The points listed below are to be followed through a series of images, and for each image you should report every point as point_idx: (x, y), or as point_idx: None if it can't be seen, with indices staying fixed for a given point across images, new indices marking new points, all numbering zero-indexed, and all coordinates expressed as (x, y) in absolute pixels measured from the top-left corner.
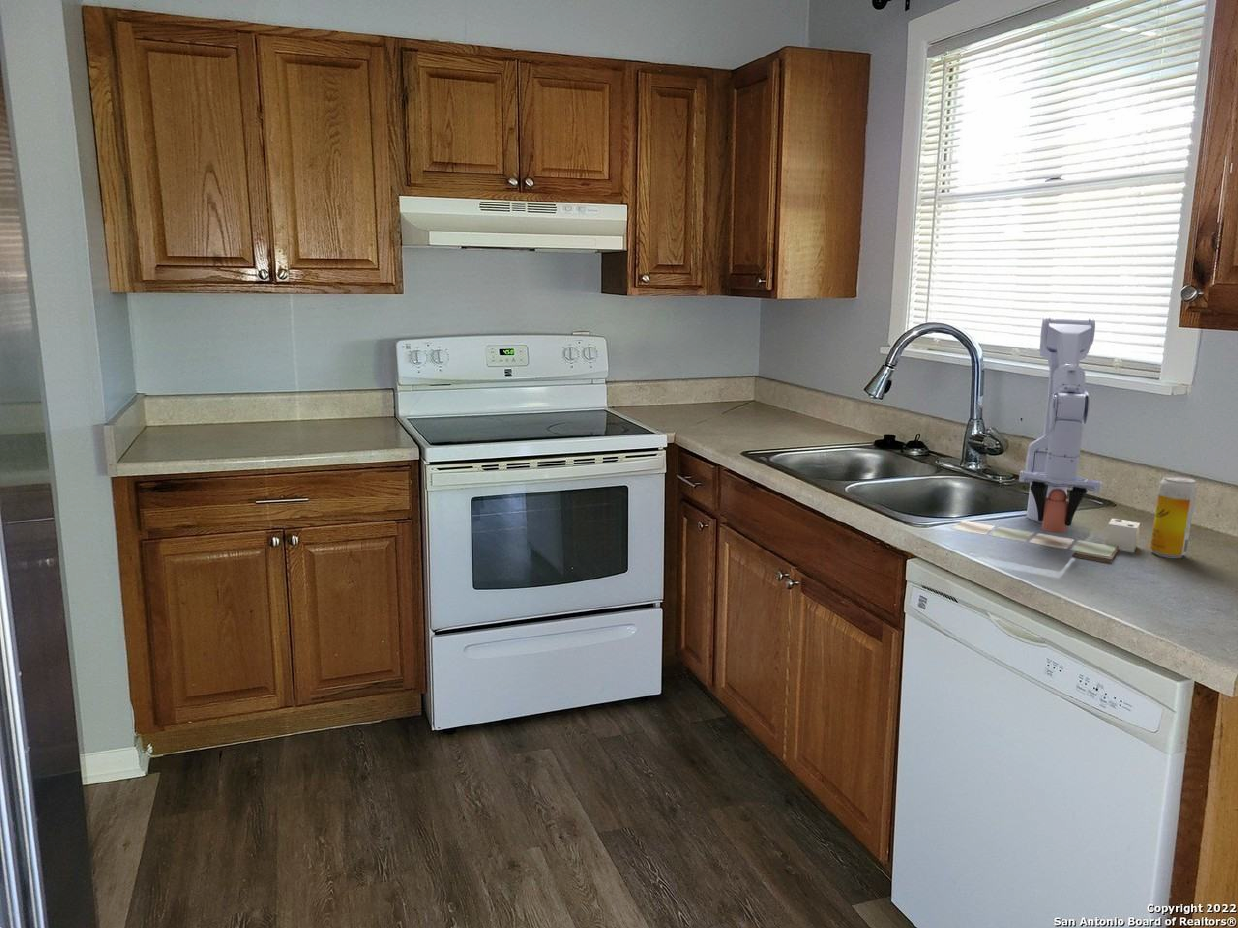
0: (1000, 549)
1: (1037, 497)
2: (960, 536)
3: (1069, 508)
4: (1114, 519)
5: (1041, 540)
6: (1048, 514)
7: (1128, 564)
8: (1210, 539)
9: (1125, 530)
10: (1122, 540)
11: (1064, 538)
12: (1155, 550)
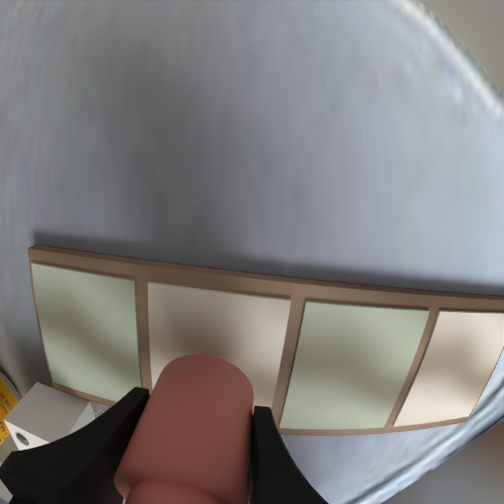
0: (385, 199)
1: (293, 492)
2: (490, 292)
3: (104, 434)
4: None
5: (248, 354)
6: (218, 414)
7: (9, 263)
8: None
9: (28, 422)
10: (45, 406)
11: None
12: (2, 381)
